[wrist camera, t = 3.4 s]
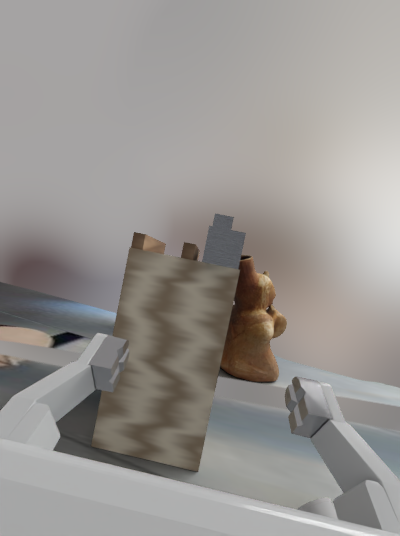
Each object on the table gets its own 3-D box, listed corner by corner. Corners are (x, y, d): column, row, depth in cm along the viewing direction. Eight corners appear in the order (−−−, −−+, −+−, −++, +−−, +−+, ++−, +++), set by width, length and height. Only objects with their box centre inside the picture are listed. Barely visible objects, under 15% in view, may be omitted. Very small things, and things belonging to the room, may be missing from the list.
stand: (201, 401, 41) (231, 257, 41) (197, 471, 27) (243, 253, 27) (130, 385, 42) (158, 242, 41) (91, 446, 28) (132, 231, 27)
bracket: (222, 266, 38) (231, 220, 37) (238, 269, 18) (258, 171, 17) (205, 262, 38) (214, 217, 38) (202, 261, 18) (221, 164, 18)
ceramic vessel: (290, 386, 54) (315, 269, 53) (214, 391, 45) (243, 251, 44) (251, 356, 69) (271, 263, 68) (188, 355, 60) (210, 249, 59)
